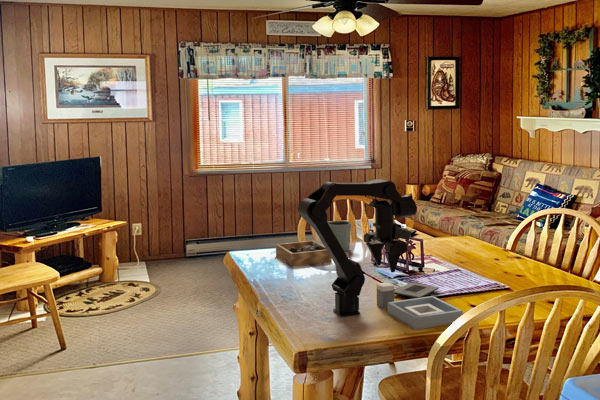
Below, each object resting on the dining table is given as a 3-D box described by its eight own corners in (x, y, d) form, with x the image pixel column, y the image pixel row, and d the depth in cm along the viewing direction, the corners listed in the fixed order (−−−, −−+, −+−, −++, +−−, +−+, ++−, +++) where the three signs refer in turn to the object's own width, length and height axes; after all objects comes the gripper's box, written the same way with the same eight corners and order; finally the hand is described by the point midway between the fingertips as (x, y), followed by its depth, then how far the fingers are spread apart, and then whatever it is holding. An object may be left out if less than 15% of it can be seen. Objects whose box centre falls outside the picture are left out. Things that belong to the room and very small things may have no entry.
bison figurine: (323, 258, 279) (303, 254, 285) (324, 241, 278) (304, 237, 284) (306, 264, 270) (286, 260, 275) (306, 247, 268) (286, 243, 274)
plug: (382, 308, 212) (382, 286, 211) (376, 305, 216) (376, 283, 214) (394, 306, 213) (394, 285, 212) (387, 303, 217) (387, 282, 216)
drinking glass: (326, 252, 288) (326, 224, 286) (329, 247, 298) (329, 220, 296) (350, 252, 286) (350, 224, 285) (352, 247, 296) (352, 220, 294)
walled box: (414, 329, 192) (414, 318, 192) (387, 313, 207) (387, 302, 206) (462, 322, 198) (462, 310, 197) (432, 306, 213) (432, 295, 212)
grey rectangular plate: (411, 288, 235) (411, 281, 234) (439, 293, 228) (439, 286, 228) (391, 297, 225) (391, 290, 224) (419, 303, 218) (419, 295, 218)
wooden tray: (291, 266, 266) (291, 253, 265) (276, 255, 284) (275, 244, 283) (331, 261, 272) (331, 249, 271) (313, 251, 290) (313, 240, 289)
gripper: (422, 222, 204) (423, 272, 207) (392, 212, 221) (394, 258, 224) (390, 226, 200) (391, 277, 203) (362, 216, 218) (363, 263, 220)
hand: (385, 268), depth 213 cm, fingers open, 9 cm apart
